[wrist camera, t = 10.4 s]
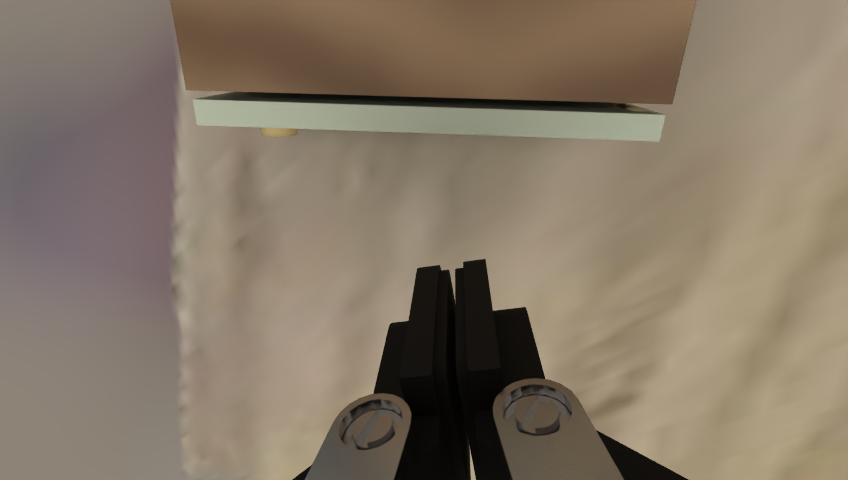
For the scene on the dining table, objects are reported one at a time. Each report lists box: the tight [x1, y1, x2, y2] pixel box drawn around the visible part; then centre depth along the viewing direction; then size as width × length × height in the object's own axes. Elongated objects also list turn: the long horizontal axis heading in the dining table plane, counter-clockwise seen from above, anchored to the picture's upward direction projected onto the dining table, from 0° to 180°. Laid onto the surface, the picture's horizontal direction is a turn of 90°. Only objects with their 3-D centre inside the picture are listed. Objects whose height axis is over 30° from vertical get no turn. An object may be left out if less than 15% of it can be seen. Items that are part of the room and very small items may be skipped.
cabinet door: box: [193, 92, 666, 141], centre depth 26 cm, size 2×22×11 cm, turn 89°
